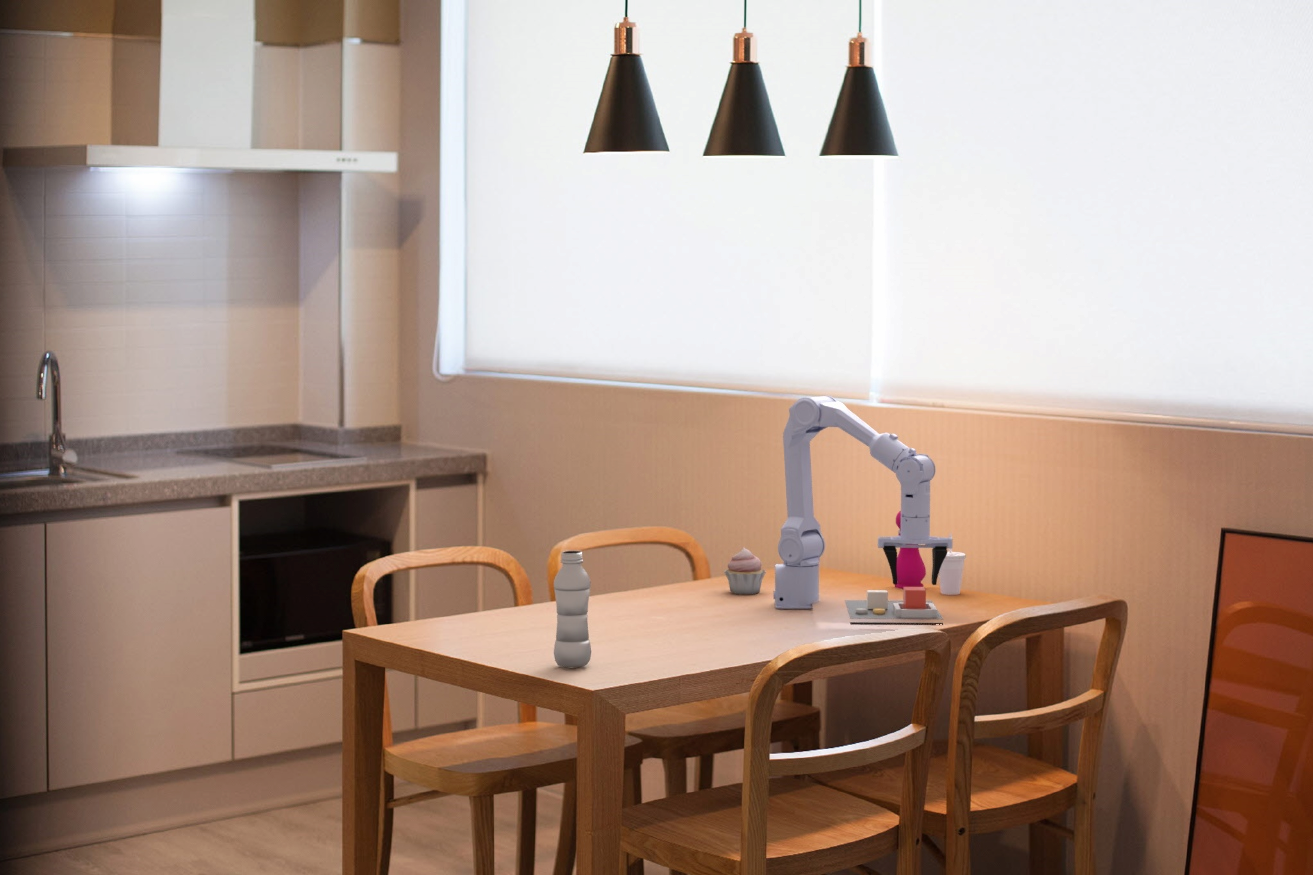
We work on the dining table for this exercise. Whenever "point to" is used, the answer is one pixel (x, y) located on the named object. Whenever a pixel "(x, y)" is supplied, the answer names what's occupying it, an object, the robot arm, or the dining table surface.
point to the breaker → (877, 599)
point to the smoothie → (951, 572)
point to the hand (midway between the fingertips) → (914, 583)
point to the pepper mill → (909, 564)
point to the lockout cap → (914, 598)
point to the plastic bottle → (572, 612)
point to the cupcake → (745, 573)
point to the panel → (890, 613)
